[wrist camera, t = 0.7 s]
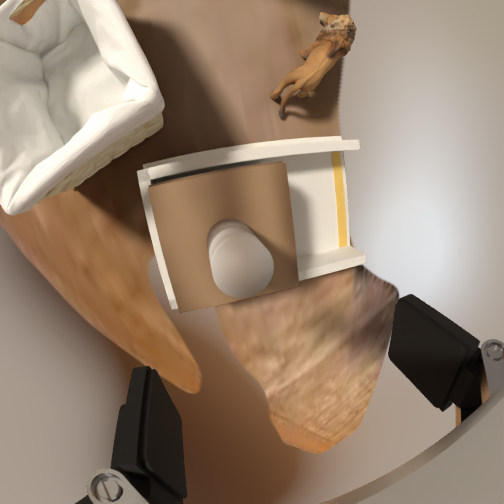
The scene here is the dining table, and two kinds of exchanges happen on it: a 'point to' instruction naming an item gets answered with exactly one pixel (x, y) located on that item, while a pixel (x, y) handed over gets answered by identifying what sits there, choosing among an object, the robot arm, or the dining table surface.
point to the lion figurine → (319, 57)
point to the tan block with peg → (226, 234)
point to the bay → (301, 195)
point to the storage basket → (69, 97)
